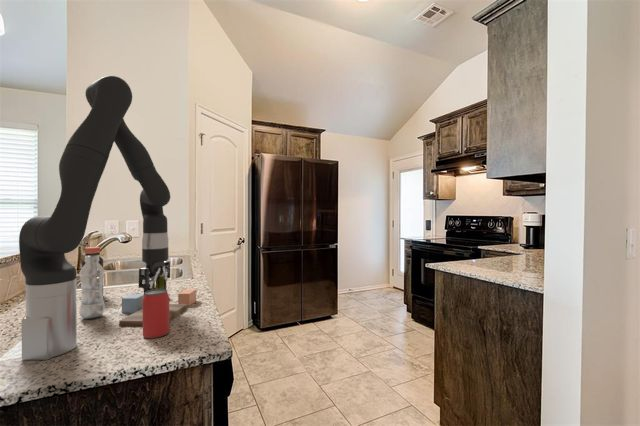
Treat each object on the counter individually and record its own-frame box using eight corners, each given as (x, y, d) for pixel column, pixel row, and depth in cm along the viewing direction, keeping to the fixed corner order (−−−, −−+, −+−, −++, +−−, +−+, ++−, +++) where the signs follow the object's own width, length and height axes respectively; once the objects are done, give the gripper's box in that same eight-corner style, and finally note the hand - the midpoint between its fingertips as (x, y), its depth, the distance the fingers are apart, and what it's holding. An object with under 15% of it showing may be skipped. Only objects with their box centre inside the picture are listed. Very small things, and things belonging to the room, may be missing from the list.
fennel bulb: (142, 313, 95) (141, 276, 95) (153, 308, 100) (153, 273, 100) (157, 315, 94) (157, 277, 94) (168, 310, 98) (168, 274, 98)
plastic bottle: (91, 321, 92) (91, 257, 92) (73, 320, 93) (73, 257, 93) (110, 314, 98) (109, 254, 98) (93, 313, 100) (93, 254, 100)
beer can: (150, 341, 78) (150, 296, 78) (137, 335, 82) (137, 292, 82) (174, 332, 84) (174, 290, 84) (161, 327, 87) (161, 287, 87)
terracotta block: (189, 306, 108) (189, 293, 108) (178, 306, 108) (178, 293, 108) (196, 301, 114) (196, 289, 114) (185, 301, 114) (185, 289, 114)
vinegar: (106, 296, 119) (106, 247, 119) (86, 301, 113) (85, 249, 113) (98, 294, 123) (98, 246, 123) (78, 298, 117) (78, 247, 117)
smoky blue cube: (136, 313, 100) (136, 298, 100) (121, 313, 100) (121, 298, 100) (145, 308, 105) (145, 294, 105) (131, 308, 105) (131, 294, 105)
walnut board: (162, 325, 89) (162, 320, 89) (119, 325, 89) (119, 320, 89) (186, 308, 105) (186, 304, 105) (150, 308, 105) (150, 304, 105)
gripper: (154, 249, 89) (154, 303, 90) (177, 244, 104) (177, 290, 104) (129, 249, 90) (130, 303, 90) (156, 244, 104) (156, 290, 104)
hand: (155, 296), depth 97 cm, fingers open, 8 cm apart
